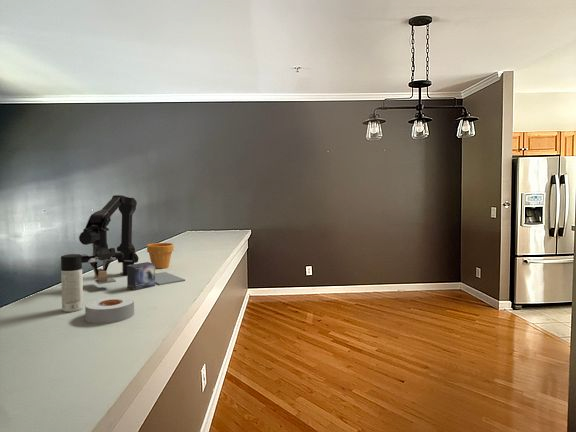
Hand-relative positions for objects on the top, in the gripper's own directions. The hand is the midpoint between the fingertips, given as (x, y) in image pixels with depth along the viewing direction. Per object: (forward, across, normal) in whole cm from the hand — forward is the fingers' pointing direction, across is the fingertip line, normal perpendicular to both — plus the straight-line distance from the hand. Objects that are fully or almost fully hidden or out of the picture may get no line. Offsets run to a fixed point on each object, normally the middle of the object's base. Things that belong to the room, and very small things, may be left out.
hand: (100, 275), depth 168 cm
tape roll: (+5, -10, -45) cm, 46 cm away
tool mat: (+5, +27, -5) cm, 28 cm away
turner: (+2, 0, -3) cm, 3 cm away
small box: (+5, +13, -14) cm, 20 cm away
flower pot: (+5, +38, +22) cm, 44 cm away
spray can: (+5, -18, -29) cm, 34 cm away
